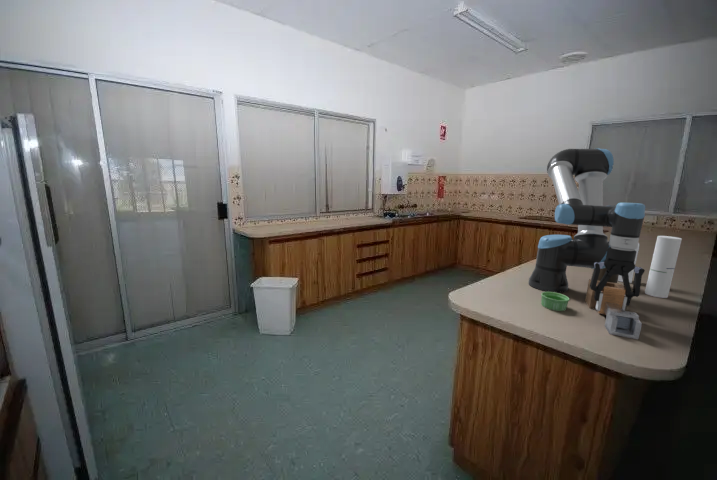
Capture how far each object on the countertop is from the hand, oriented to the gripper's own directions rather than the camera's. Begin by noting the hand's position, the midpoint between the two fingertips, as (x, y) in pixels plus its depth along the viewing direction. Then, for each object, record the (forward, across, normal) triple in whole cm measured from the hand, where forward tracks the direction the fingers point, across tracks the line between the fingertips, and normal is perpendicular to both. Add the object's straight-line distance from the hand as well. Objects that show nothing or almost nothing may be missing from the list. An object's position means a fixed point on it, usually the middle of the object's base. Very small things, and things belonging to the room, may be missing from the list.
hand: (609, 311), depth 110 cm
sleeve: (+1, 0, -14) cm, 15 cm away
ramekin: (+2, -17, -2) cm, 17 cm away
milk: (+2, +17, +54) cm, 56 cm away
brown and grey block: (+1, 0, -4) cm, 4 cm away
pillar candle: (+2, +7, +42) cm, 43 cm away
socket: (+1, 0, +8) cm, 8 cm away
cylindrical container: (+2, +24, +36) cm, 44 cm away
